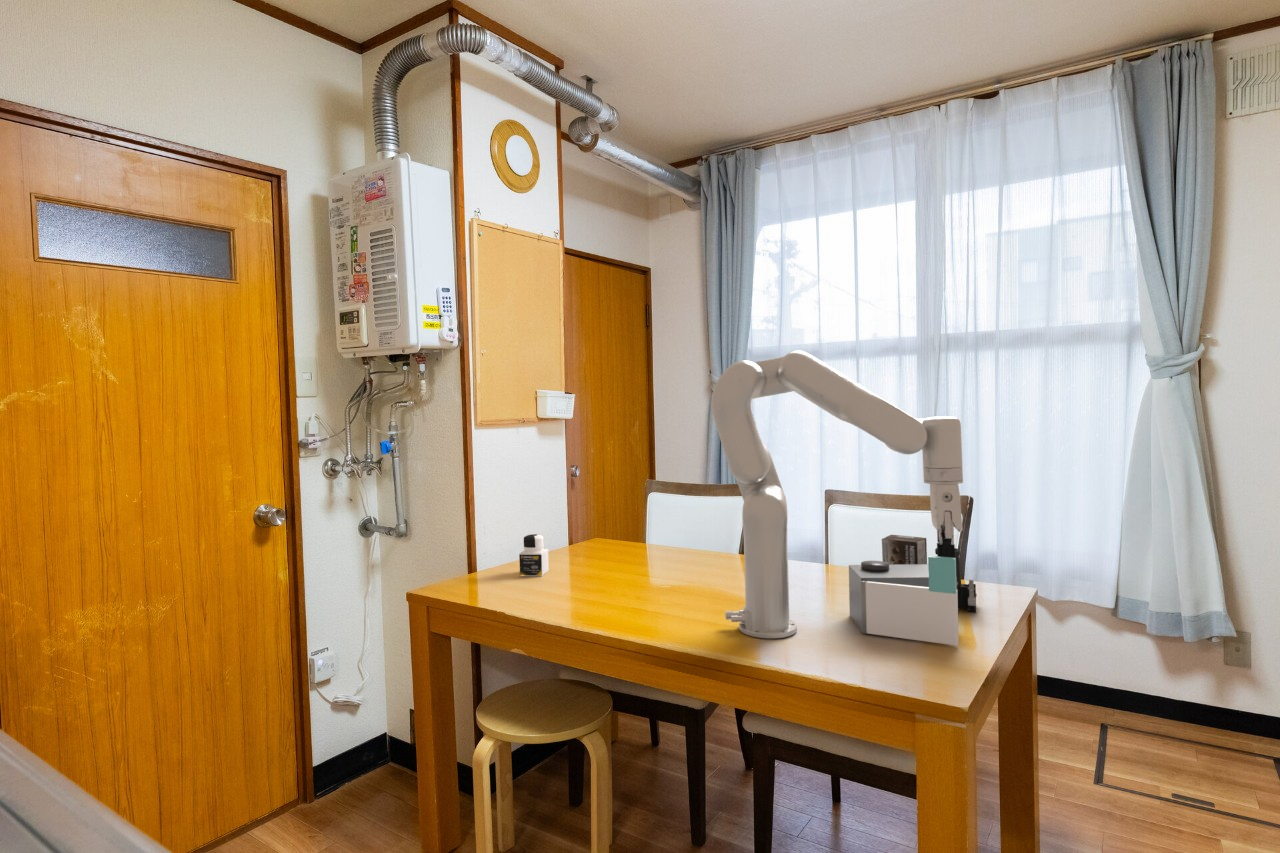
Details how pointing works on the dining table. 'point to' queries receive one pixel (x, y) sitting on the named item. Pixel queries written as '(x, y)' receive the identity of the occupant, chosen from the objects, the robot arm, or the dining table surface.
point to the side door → (914, 606)
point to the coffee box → (904, 550)
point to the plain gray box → (883, 580)
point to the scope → (964, 589)
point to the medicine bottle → (534, 556)
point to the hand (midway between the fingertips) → (946, 562)
